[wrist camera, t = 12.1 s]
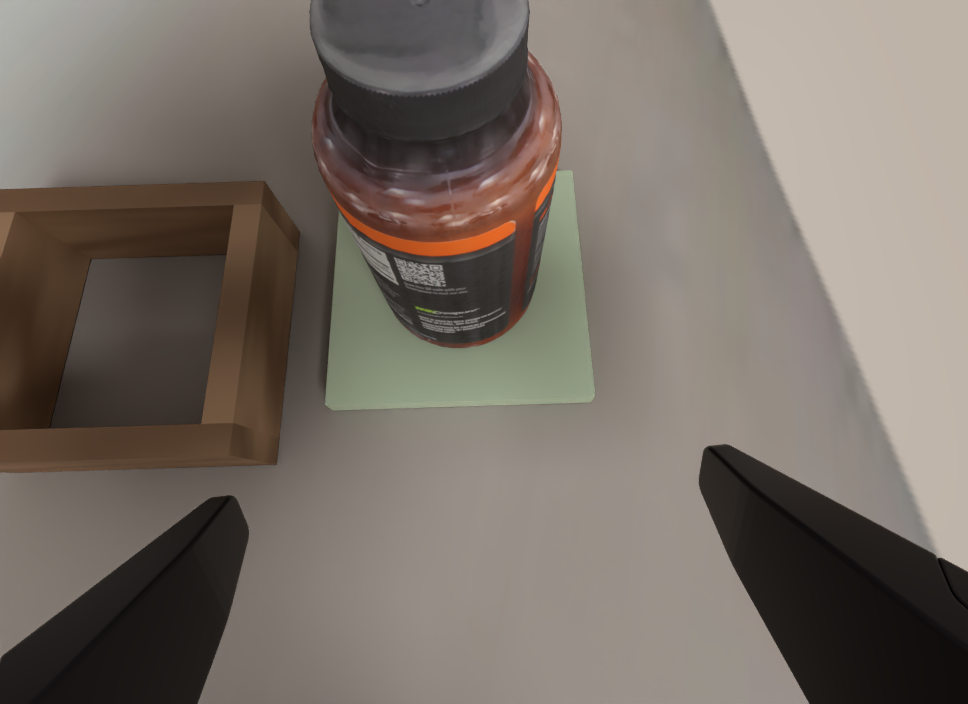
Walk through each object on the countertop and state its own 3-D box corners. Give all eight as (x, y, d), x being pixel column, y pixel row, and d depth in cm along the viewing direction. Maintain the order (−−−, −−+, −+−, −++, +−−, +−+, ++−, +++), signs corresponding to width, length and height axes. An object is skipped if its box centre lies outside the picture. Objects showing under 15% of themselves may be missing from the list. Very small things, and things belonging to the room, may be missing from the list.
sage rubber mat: (589, 402, 19) (595, 396, 18) (333, 410, 19) (324, 405, 18) (568, 185, 22) (572, 170, 21) (347, 192, 22) (341, 177, 21)
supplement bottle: (504, 200, 20) (521, -142, 10) (557, 324, 19) (651, 75, 8) (368, 243, 20) (224, -70, 9) (410, 375, 18) (294, 181, 7)
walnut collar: (276, 464, 18) (228, 455, 15) (11, 472, 18) (-96, 465, 15) (299, 232, 21) (264, 181, 18) (73, 239, 21) (-5, 189, 18)
